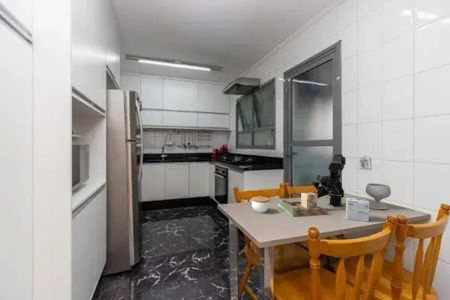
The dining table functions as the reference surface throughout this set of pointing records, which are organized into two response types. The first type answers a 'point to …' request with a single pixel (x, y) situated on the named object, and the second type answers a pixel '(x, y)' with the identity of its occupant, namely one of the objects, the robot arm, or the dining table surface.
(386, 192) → the chalice
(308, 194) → the oak block
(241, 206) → the dining table surface
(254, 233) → the dining table surface
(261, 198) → the lidded jar
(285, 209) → the trap board
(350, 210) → the light bulb box
